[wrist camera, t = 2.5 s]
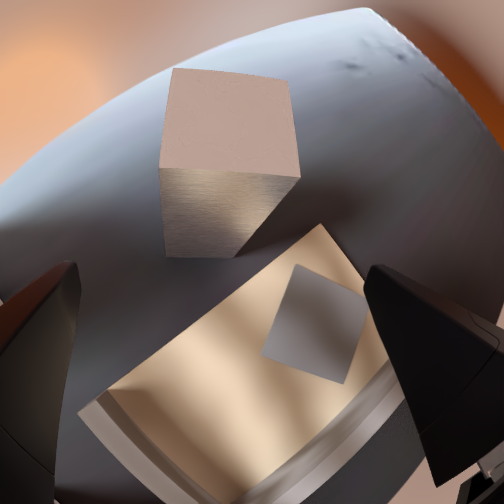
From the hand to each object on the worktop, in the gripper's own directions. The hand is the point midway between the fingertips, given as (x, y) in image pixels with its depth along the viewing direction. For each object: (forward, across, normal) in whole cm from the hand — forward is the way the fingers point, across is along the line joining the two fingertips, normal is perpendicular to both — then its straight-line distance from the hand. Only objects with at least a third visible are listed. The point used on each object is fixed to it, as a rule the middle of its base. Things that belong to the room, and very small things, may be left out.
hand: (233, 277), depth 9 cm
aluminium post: (+12, 0, +5) cm, 13 cm away
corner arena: (+4, -4, +12) cm, 14 cm away
